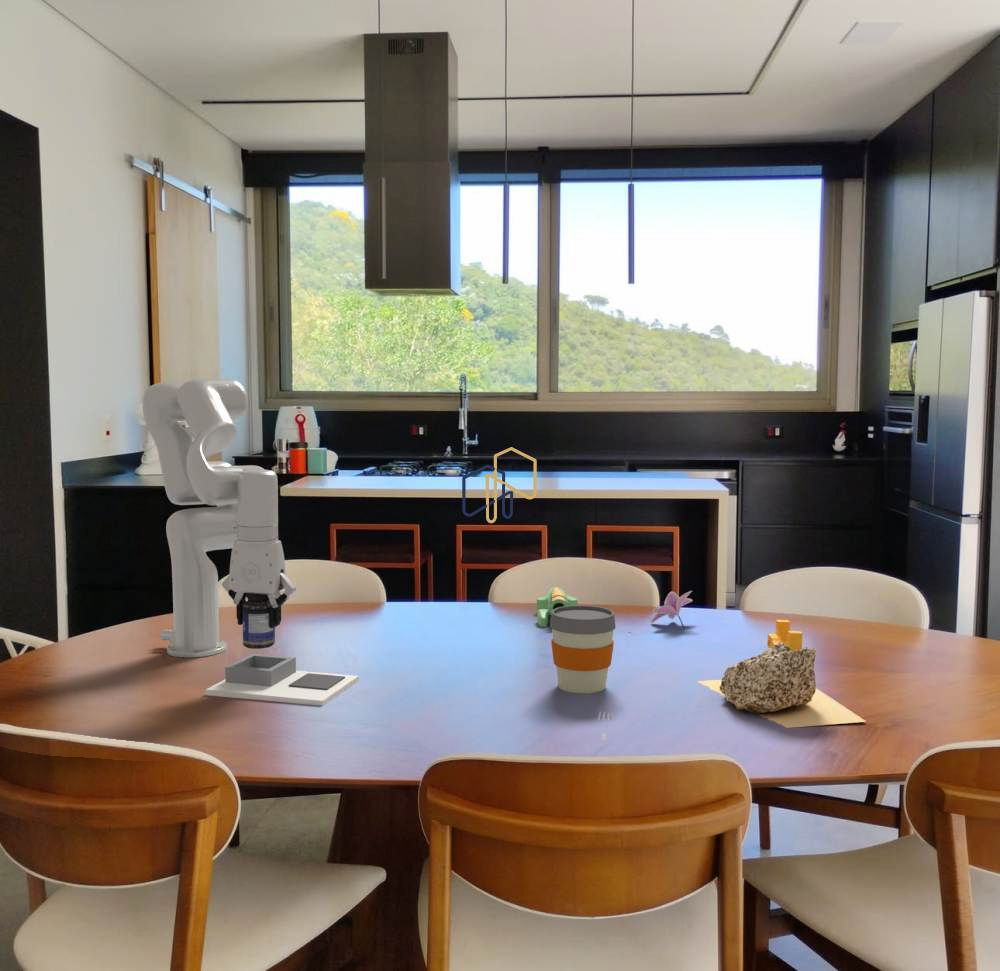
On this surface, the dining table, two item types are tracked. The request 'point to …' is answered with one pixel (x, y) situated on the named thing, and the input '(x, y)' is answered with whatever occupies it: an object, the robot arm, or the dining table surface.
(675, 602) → the lily
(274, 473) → the robot arm
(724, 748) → the dining table surface
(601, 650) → the reusable coffee cup
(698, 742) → the dining table surface
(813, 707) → the rock
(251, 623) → the pill bottle
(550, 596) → the toy spaceship
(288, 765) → the dining table surface
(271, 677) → the socket board
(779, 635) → the orange stepped block
